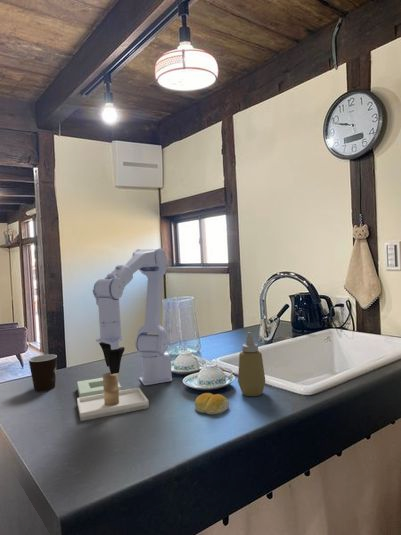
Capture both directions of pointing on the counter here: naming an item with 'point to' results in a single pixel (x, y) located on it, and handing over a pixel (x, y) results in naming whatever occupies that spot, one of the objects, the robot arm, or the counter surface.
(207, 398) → the bread roll
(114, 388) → the oak pin
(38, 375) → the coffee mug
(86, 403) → the tray
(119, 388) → the pin holder
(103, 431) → the counter surface
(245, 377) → the squeeze bottle
